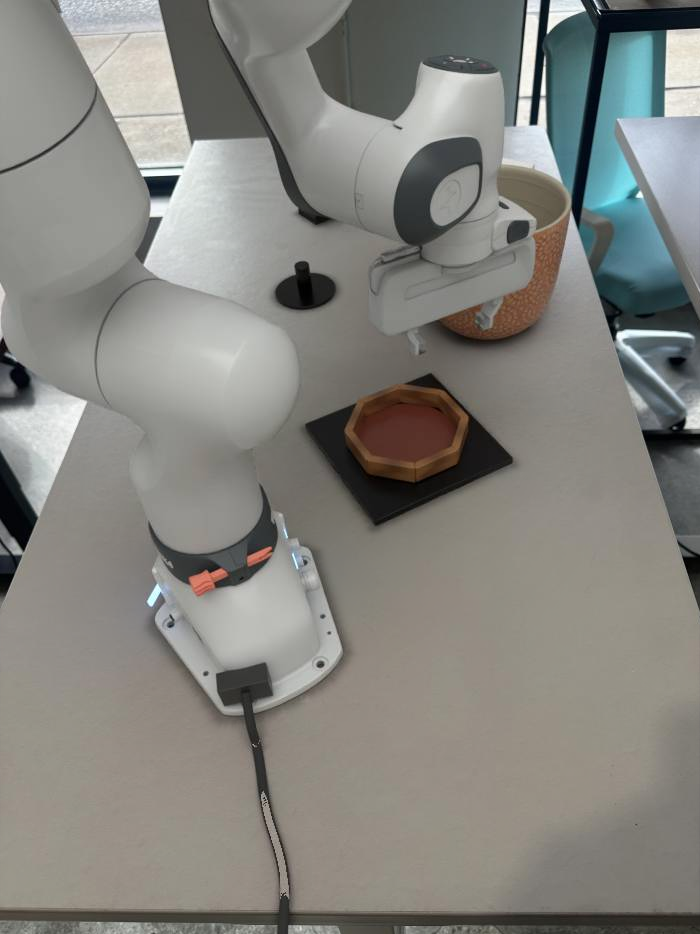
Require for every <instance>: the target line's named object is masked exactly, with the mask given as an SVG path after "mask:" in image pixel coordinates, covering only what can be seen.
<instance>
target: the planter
mask: <svg viewBox="0 0 700 934" xmlns="http://www.w3.org/2000/svg"><path fill="white" fill-rule="evenodd" d="M497 190H498V194H499V196H502V197H504V198H506V199H508V200H510V201H512V202H514V203H515V204H517V205H519V206H520V207H522V208H523V209H524V210H526V211H527V212H528V213H530V214H531V215H532V216H533V217H534V218H535V219H536V220H537V225H536V230H535V233H534V234H533V235H532V237H533V238H534V241H535V247H536V250H535V264H534V272H533V277H532V279H531V281H530V282H529V283H528V285H527V286H526V287H525V288H524V289H521V290H518V291H515V292H512V293H510V294H507V295H504V296H503V303H502V304H501V306H500V308H499V309H498V311H497V312H496V314H495V316H493V326H492V328H489V329H487V330H484V331H480V330H479V328H477V327H476V326H475V313H477V312H479V311H481V309H482V307H483V304H484V303H482V304H479V305H476V306H474V307H471V308H468V309H465V310H463V311H460V312H457V313H454V314H452V315H449V316H446V317H443V318H441V319H438V321H440V322H441V324H443V325H444V326H445V327H446V328H448V329H449V330H451V331H453V332H455V333H457V334H459V335H461V336H463V337H467V338H469V339H475V340H485V341H487V340H489V341H492V340H499V339H504V338H509V337H513V336H515V335H517V334H519V333H521V332H523V331H524V330H527V329H528V328H529V327H531V326H532V325H533V324H535V323H536V322H538V320H539V319H540V318H541V316H543V314H544V312H545V311H546V309H547V308H548V306H549V304H550V301H551V299H552V296H553V292H554V290H555V288H556V285H557V280H558V276H559V273H560V268H561V264H562V260H563V255H564V251H565V250H564V249H565V245H566V241H567V235H568V230H569V224H570V218H571V213H572V204H573V201H572V195H571V194H570V191H569V190H568V188H567V186H565V185H564V184H563V183H562V182H561V181H560V180H558V179H557V178H556V177H553V176H552V175H550V174H548V173H545V172H544V171H541V170H537V169H531V168H527V167H522V166H516V165H506V164H501V167H500V169H499V172H498V176H497Z"/></svg>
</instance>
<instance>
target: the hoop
mask: <svg viewBox="0 0 700 934" xmlns="http://www.w3.org/2000/svg"><path fill="white" fill-rule="evenodd" d="M399 402H403V403H410V404H416V405H423V406H429V407H436V408H439V409H440V410H441V411H442V412H443V413H444V414H445V415H446V417H447V418H448V419H449V420H450V421H451V422H452V423H453V424H454V425H455V426H456V427H457V431H456V434H455V437H454V440H453V443H452V447H449V448H447V449H445V450H443V451H440V452H438V453H436V454H433V455H431V456H429V457H427V458H424V459H422V460H420V461H418V462H415V463H412V462H407V461H401V460H395V459H389V458H383V457H377V456H372V455H371V454H370V452H369V451H368V450H367V449H366V447H365V446H364V445H363V443H362V442H361V441H360V440H359V438H358V437H357V435H358V433H359V431H360V428H361V426H362V424H363V421H364V419H365V417H366V416H368V415H370V414H373V413H375V412H377V411H380V410H382V409H385V408H387V407H390V406H392V405H395V404H397V403H399ZM356 403H357V404H356V406H355V408H354V411H353V413H352V415H351V417H350V419H349V421H348V424H347V426H346V428H345V430H344V431H345V439H346V445H347V447H348V448H349V449H350V451H351V452H352V453H353V455H354V456H355V457H356V459H357V460H358V461H359V463H360V464H361V465H362V467H363V468H364V469H365V471H366V472H367V473H369V474H370V475H375V476H381V477H387V478H392V479H398V480H404V481H409V482H415V481H416V482H418V481H420V480H422V479H425V478H427V477H429V476H431V475H434V474H436V473H438V472H440V471H442V470H445V469H447V468H449V467H451V466H454V465H456V464H457V463H458V462H459V459H460V456H461V452H462V449H463V446H464V442H465V439H466V436H467V433H468V421H469V417H468V415H467V414H466V413H465V412H464V411H463V410H462V409H461V408H460V407H459V406H458V405H457V404H456V403H455V402H454V401H453V400H452V399H451V398H450V396H449V395H448V394H447V393H446V392H445V391H442V390H439V389H433V388H426V387H419V386H412V385H405V383H396V384H394V385H391V386H389V387H386V388H384V389H382V390H379V391H376V392H374V393H371V394H369V395H367V396H364V397H362V398H360V399H358V400H357V401H356Z"/></svg>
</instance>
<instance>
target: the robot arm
mask: <svg viewBox="0 0 700 934" xmlns="http://www.w3.org/2000/svg"><path fill="white" fill-rule="evenodd" d="M352 2H353V0H204V5H205V11H206V14H207V18H208V21H209V24H210V26H211V29H212V32H213V34H214V36H215V38H216V40H217V42H218V45H219V47H220V49H221V51H222V53H223V54H224V57H225V59H226V61H227V63H228V65H229V66H230V68H231V70H232V72H233V74H234V76H235V77H236V79H237V82H238V83H239V85H240V87H241V88H242V91H243V92H244V94H245V97H246V98H247V100H248V101H249V104H250V105H251V108H252V109H253V111H254V113H255V115H256V117H257V118H258V120H259V122H260V124H261V126H262V127H263V129H264V131H265V134H266V135H267V138H268V140H269V143H270V144H271V145H270V146H271V147H272V151H273V154H274V159H275V161H276V166H277V169H278V172H279V178H280V181H281V183H282V186H283V188H284V191H285V193H286V195H287V197H288V199H289V200H290V201H291V202H292V204H293V205H294V206H295V207H296V208H297V209H298V208H299V209H300V210H302V211H304V212H307V213H310V214H314V215H318V216H322V217H326V218H329V219H328V220H335V221H338V222H341V223H344V224H346V225H349V226H351V227H355V228H357V229H360V230H361V231H362V230H363V231H364V232H366V233H367V232H368V233H370V234H374V235H378V236H380V237H383V238H386V239H388V240H391V241H394V242H396V243H400V244H403V245H401V246H399V247H397V248H393V249H388V250H385V251H382V252H380V253H379V255H378V258H376V259H375V260H374V261H373V262H372V264H371V265H370V266H369V267H368V271H367V275H368V276H367V277H368V287H369V289H368V302H367V304H368V305H367V317H368V320H369V322H370V323H371V325H372V326H373V327H374V328H375V329H376V330H377V331H378V332H379V333H380V334H382V335H383V336H385V337H387V338H391V337H393V336H396V335H399V334H401V333H402V335H403V336H404V337H405V338H406V339H407V340H406V341H407V342H406V343H407V344H406V345H407V351H408V352H409V354H411V356H412V357H414V358H415V357H418V356H420V355H422V354H425V353H426V352H427V350H426V347H427V342H426V340H425V339H424V338H422V336H421V335H420V334H419V327H421V326H424V325H427V324H429V323H432V322H435V321H437V320H438V321H439V319H441V318H443V317H446V316H449V315H452V314H454V313H457V312H460V311H463V310H465V309H468V308H471V307H474V306H476V305H479V304H482V303H484V304H483V307H482V309H481V311H479V312H477V313H475V326H476V327H477V328H479V330H480V331H484V330H487V329H489V328H492V326H493V316H495V314H496V312H497V311H498V309H499V308H500V306H501V304H502V303H503V296H504V295H507V294H510V293H512V292H515V291H518V290H521V289H524V288H525V287H526V286H527V285H528V283H529V282H530V281H531V279H532V277H533V272H534V264H535V250H536V247H535V241H534V238H533V237H532V235H533V234H534V233H535V230H536V225H537V220H536V219H535V218H534V217H533V216H532V215H531V214H530V213H528V212H527V211H526V210H524V209H523V208H522V207H520V206H519V205H517V204H515V203H514V202H512V201H510V200H508V199H506V198H504V197H502V196H499V194H498V190H497V176H498V172H499V169H500V167H501V164H502V159H503V158H504V145H505V127H506V125H505V124H506V121H505V118H506V117H505V115H506V109H505V105H506V103H505V91H504V90H505V89H504V82H503V78H502V74H501V72H500V70H499V69H498V68H497V67H496V66H495V65H494V64H492V63H490V62H489V61H486V60H482V59H479V58H475V57H470V56H465V55H453V54H437V55H433V56H429V57H427V58H425V59H423V60H422V61H420V63H419V66H418V70H417V75H416V81H415V82H416V83H415V89H414V95H413V97H412V100H411V101H410V103H409V104H408V106H407V107H406V108H405V110H404V111H403V113H402V114H401V115H399V116H398V118H396V119H394V120H390V119H386V118H383V117H380V116H376V115H373V114H369V113H365V112H362V111H359V110H356V109H353V108H352V107H349V106H347V105H344V104H342V103H341V102H339V101H337V100H336V99H334V98H333V97H331V96H329V95H328V94H327V93H326V92H325V91H324V90H323V87H322V85H321V83H320V80H319V78H318V76H317V73H316V70H315V68H314V66H313V62H312V60H311V58H310V55H309V53H308V51H307V49H308V48H310V47H311V46H313V45H315V43H317V42H318V41H320V40H321V39H322V38H323V37H325V36H326V35H327V34H328V33H329V32H330V31H331V30H332V29H333V28H334V27H335V26H336V25H337V24H338V22H339V21H340V20H341V19H342V17H343V16H344V14H345V13H346V11H347V10H348V9H349V7H350V5H351V3H352ZM62 14H63V11H62V9H61V5H60V2H59V0H0V285H1V288H2V290H3V292H4V297H3V299H2V305H1V311H0V327H1V333H2V337H3V340H4V343H5V345H6V348H7V349H8V351H9V352H10V354H11V355H12V357H13V358H14V359H15V360H16V361H17V362H18V363H19V364H20V365H22V367H24V368H26V369H27V370H28V371H30V372H31V373H32V374H34V375H36V376H37V377H38V378H40V379H41V380H43V381H44V382H46V384H49V385H50V386H51V387H53V388H54V389H56V390H58V391H60V392H61V393H63V394H66V395H69V396H72V397H74V398H77V399H79V400H81V401H83V402H87V403H89V404H93V405H95V406H98V407H100V408H102V409H105V410H108V411H111V412H114V413H116V414H119V415H121V416H122V417H125V418H127V419H129V420H131V421H132V422H133V423H134V424H136V425H137V426H138V427H139V428H140V429H141V430H142V431H143V432H144V435H142V436H141V438H140V439H139V441H138V442H137V444H136V446H135V449H134V451H133V453H132V456H131V458H130V462H129V466H128V467H129V469H128V474H129V475H128V476H129V481H130V484H131V486H132V488H133V490H134V493H135V494H136V497H137V499H138V501H139V503H140V505H141V508H142V509H143V512H144V514H145V516H146V518H147V520H148V521H147V524H148V526H147V527H148V531H149V535H150V538H151V542H152V544H153V547H154V548H155V551H156V553H157V557H156V559H155V561H154V564H153V566H152V569H151V573H152V576H153V578H154V580H155V582H156V585H155V587H154V588H153V591H152V592H151V593H150V596H149V597H148V600H146V601H147V604H148V605H149V607H153V606H154V604H155V602H156V600H157V598H158V597H159V595H160V593H161V595H162V596H163V599H164V603H162V605H161V606H160V608H159V609H158V610H157V612H156V614H155V616H154V622H155V626H156V628H157V629H158V631H159V632H160V633H161V635H162V636H163V638H164V639H165V640H166V642H167V643H168V644H169V646H170V647H171V648H172V650H173V651H174V652H175V653H176V655H177V657H178V658H179V659H180V661H181V662H182V663H183V664H184V665H185V667H186V668H187V670H188V671H189V672H190V673H191V675H192V676H193V678H194V679H195V680H196V682H197V683H198V684H199V686H200V688H202V690H203V691H204V692H205V694H206V695H207V696H208V698H209V699H210V700H211V702H212V703H213V704H214V706H215V707H216V708H217V710H218V712H220V713H221V714H223V715H224V716H235V717H238V716H239V717H240V716H244V722H245V727H246V731H247V734H248V735H247V736H248V738H249V741H250V745H251V750H252V755H253V760H254V768H255V775H256V776H255V777H256V784H257V792H258V798H259V803H260V804H259V805H260V809H261V814H262V818H263V822H264V826H265V830H266V832H267V836H268V838H269V842H270V845H271V848H272V852H273V855H274V858H275V864H276V869H277V876H278V884H279V888H280V872H279V866H278V861H277V857H276V853H275V849H274V846H273V843H272V840H271V836H270V833H269V830H268V827H267V824H266V820H265V816H264V812H263V807H262V801H261V794H262V792H263V791H264V793H265V795H266V797H267V800H268V804H269V808H270V812H271V816H272V820H273V823H274V826H275V829H276V832H277V835H278V838H279V842H280V845H281V848H282V852H283V856H284V860H285V865H286V872H287V878H288V885H289V894H290V895H291V880H290V871H289V865H288V861H287V855H286V852H285V848H284V844H283V842H282V838H281V835H280V832H279V829H278V825H277V823H276V820H275V817H274V812H273V809H272V803H271V798H270V793H269V792H270V791H269V786H268V778H267V771H266V764H265V758H264V757H265V756H264V752H263V747H262V742H261V738H260V735H259V732H258V728H257V723H256V719H255V714H257V713H262V712H263V711H267V710H270V709H273V708H275V707H277V706H280V705H282V704H284V703H286V702H288V701H291V700H293V699H294V698H296V697H298V696H300V695H301V694H303V693H305V692H307V691H308V690H310V689H311V688H313V687H314V686H316V685H317V684H319V683H320V682H321V681H322V680H323V679H325V678H326V677H327V676H328V675H329V674H330V673H332V671H333V670H334V669H335V667H336V666H337V665H338V664H339V662H340V661H341V659H342V658H343V656H344V649H343V644H342V642H341V639H340V635H339V633H338V629H337V627H336V623H335V620H334V617H333V613H332V611H331V608H330V605H329V602H328V598H327V595H326V592H325V589H324V587H323V584H322V581H321V577H320V574H319V571H318V568H317V565H316V562H315V559H314V556H313V553H312V551H311V550H310V548H308V547H306V546H302V545H300V541H299V538H298V537H293V538H290V539H289V536H288V532H287V528H286V523H285V518H284V514H283V513H282V512H278V510H273V506H272V504H271V502H270V498H269V497H268V495H267V493H266V491H265V489H264V487H263V485H262V483H260V481H259V478H258V473H257V468H256V464H255V460H254V454H253V449H255V448H258V447H259V446H260V447H261V446H262V445H263V444H265V443H267V442H268V441H270V440H271V439H272V438H273V437H275V435H277V434H278V433H279V432H280V431H281V430H282V429H283V428H284V426H285V425H286V424H287V423H288V421H289V420H290V418H291V416H292V414H293V413H294V410H295V409H296V406H297V403H298V399H299V396H300V391H301V386H302V370H301V368H302V367H301V360H300V356H299V353H298V350H297V347H296V344H295V342H294V340H293V338H292V336H291V334H290V333H289V332H288V331H287V330H285V328H283V327H282V326H280V325H279V324H276V323H275V322H273V321H271V320H270V319H268V318H266V317H265V316H263V315H261V313H260V314H259V313H257V312H256V311H254V310H252V309H250V308H248V307H246V306H245V305H243V304H241V303H239V302H238V301H235V300H233V299H229V298H226V297H223V296H219V295H215V294H212V293H208V292H204V291H201V290H197V289H195V288H191V287H187V286H184V285H180V284H177V283H174V282H171V281H168V280H166V279H163V278H161V277H159V276H157V275H156V274H155V273H153V272H152V271H151V270H149V269H148V268H147V267H146V266H145V265H144V264H143V263H142V262H141V260H139V259H138V257H137V256H136V253H137V251H138V249H139V248H140V246H141V244H142V243H143V240H144V237H145V235H146V231H147V228H148V225H149V220H150V216H151V211H152V203H151V202H152V201H151V195H150V191H149V187H148V184H147V182H146V181H145V178H144V176H143V174H142V172H141V169H140V168H139V166H138V163H137V161H136V160H135V158H134V156H133V154H132V151H131V150H130V147H129V145H128V144H127V142H126V139H125V137H124V136H123V134H122V131H121V129H120V127H119V126H118V123H117V121H116V120H115V119H116V118H115V117H114V115H113V113H112V111H111V109H110V107H109V105H108V103H107V102H106V99H105V97H104V95H103V93H102V91H101V89H100V87H99V85H98V82H97V81H96V78H95V77H94V75H93V73H92V70H91V69H90V67H89V65H88V63H87V61H86V59H85V57H84V55H83V53H82V51H81V49H80V48H79V45H78V44H77V42H76V40H75V38H74V37H73V34H72V33H71V31H70V29H69V27H68V26H67V24H66V22H65V20H64V19H63V17H62ZM170 626H171V627H170ZM320 665H323V666H322V667H318V666H320ZM259 740H260V742H259ZM251 743H252V744H254V745H255V746H257V747H254V746H253V745H252V744H251ZM258 743H259V744H258ZM263 799H265V797H264V798H263ZM264 801H266V799H265V800H264ZM265 803H267V802H265ZM265 803H264V804H265ZM264 804H263V805H264ZM265 806H266V805H265ZM281 894H282V893H281ZM284 894H286V892H285V893H283V894H282V896H281V899H280V898H279V901H280V902H278V915H277V927H276V928H277V929H276V934H289V925H290V924H289V923H290V910H291V907H290V908H289V899H288V897H287V896H286V895H285V896H284Z"/></svg>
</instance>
